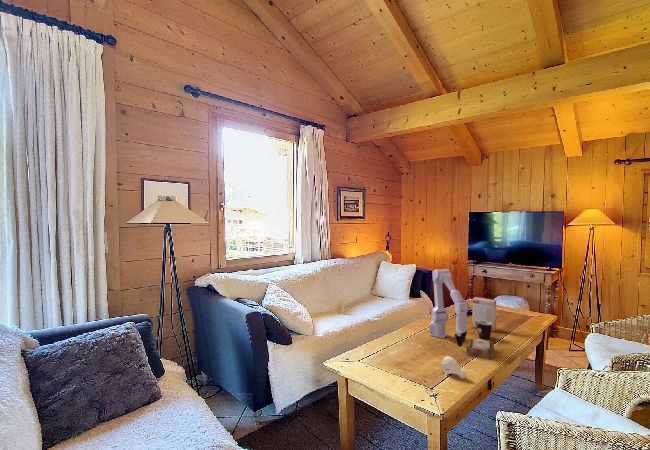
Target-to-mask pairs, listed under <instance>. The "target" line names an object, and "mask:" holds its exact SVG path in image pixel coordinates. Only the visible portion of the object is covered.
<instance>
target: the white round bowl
mask: <svg viewBox="0 0 650 450" xmlns="http://www.w3.org/2000/svg"><path fill="white" fill-rule="evenodd" d="M488 341H489V340H483V339H480V338H479V339H474V340H473V345H472V346H471V348H476V349H481V350H485V349H488V351H489V350H490V343H489V342H488Z"/></svg>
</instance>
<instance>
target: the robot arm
mask: <svg viewBox="0 0 650 450" xmlns="http://www.w3.org/2000/svg"><path fill="white" fill-rule="evenodd" d="M431 273H432V274H431V275H432V282H433V293H434V307H433V308H432V309H431V314H430V319H431V321H430V323H429V336H430V337H436V338H442V339H445V338H446V337H447V336H448V333H446V324H447V321H448V320H449V313H448V309H447V308H445V306H444V305H445V304H444V293H443V292H444V290H443V283H444V285H445V286H446V287H447V289H448V290H449V292H450V293H449V295H450V297H451V299H452V301H453V303H454V306H453V307H454V310H455V314H456V317H455V318H456V320H455V321H456V322H455V330H456V333H454V337H455V340H456V345H457V347H463V344H464V343H465V341H466V336H467V334H468V332H469V331H470V330H469V329H467V322H468V320H467V318H468V317H467V316H468V312H469V310H470V305H469V302H468V301H466V300H465V299H464V298H463V296H462V294H461V292H460V291H459V290H457V288H456V287H455V284H454V282H453V280H452V273H451V270H450V269H448V268H444V269H434V270H433V271H432V272H431Z"/></svg>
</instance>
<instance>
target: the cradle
mask: <svg viewBox="0 0 650 450" xmlns="http://www.w3.org/2000/svg"><path fill="white" fill-rule="evenodd" d="M473 340H475V339H473V338H471V339H470V346H466V353H465V354H466V355H469V356H472V357H478V358H482V359H487V360H492V358H493V355H494V352H495V343H494V342H492V341H491V340H487V341H488V342H489V343H490V350H489V351H488V349H485V350H481V349H476V348H472V345H473Z"/></svg>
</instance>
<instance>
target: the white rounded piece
mask: <svg viewBox="0 0 650 450" xmlns="http://www.w3.org/2000/svg"><path fill="white" fill-rule="evenodd" d="M441 365H442V368H443V372H444V374H445V376H448V375H451V374H453V375H457V376H458V377H459V379H460V380H461V379H462V380H465V378H467V377H468V373H467V371H466V370H465V369H463V368H461V366H460V364H459V363H458V361H457V360H456V359H455V358H454V357H451V356H449V355H447V356H445V357H444V358H443V359H442V363H441Z"/></svg>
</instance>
